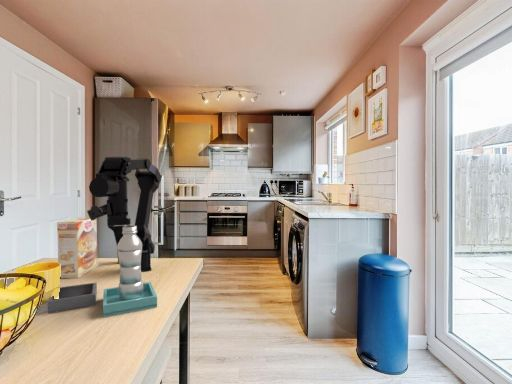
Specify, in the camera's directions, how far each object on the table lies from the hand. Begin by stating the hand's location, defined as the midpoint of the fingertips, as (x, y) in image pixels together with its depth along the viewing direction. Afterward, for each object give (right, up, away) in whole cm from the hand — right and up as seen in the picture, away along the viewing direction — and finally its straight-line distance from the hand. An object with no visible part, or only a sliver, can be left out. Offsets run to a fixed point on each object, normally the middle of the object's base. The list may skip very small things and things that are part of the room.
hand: (118, 244), depth 94 cm
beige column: (-11, -12, +26) cm, 31 cm away
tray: (+10, -13, -14) cm, 22 cm away
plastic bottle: (+10, -13, -13) cm, 21 cm away
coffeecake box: (-21, -13, +14) cm, 29 cm away
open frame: (-6, -14, -13) cm, 20 cm away
